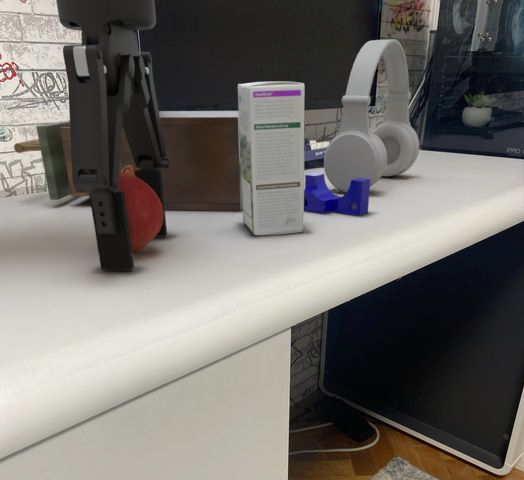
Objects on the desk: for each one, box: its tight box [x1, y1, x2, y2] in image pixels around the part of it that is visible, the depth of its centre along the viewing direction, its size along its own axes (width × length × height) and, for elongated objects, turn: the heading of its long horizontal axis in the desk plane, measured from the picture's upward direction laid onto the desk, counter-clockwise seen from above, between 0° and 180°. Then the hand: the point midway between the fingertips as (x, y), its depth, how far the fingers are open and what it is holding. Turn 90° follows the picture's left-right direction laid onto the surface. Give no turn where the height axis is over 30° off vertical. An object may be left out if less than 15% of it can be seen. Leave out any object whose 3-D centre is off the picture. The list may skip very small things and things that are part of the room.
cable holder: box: [304, 172, 371, 217], centre depth 65 cm, size 8×4×4 cm, turn 51°
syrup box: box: [237, 80, 306, 236], centre depth 56 cm, size 6×6×14 cm
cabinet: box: [120, 110, 243, 212], centre depth 71 cm, size 15×13×11 cm
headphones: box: [323, 39, 420, 194], centre depth 78 cm, size 20×8×19 cm, turn 149°
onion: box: [118, 165, 163, 254], centre depth 49 cm, size 6×6×8 cm
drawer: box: [13, 119, 122, 201], centre depth 72 cm, size 18×12×9 cm, turn 84°
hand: (137, 250), depth 51 cm, fingers open, 10 cm apart
